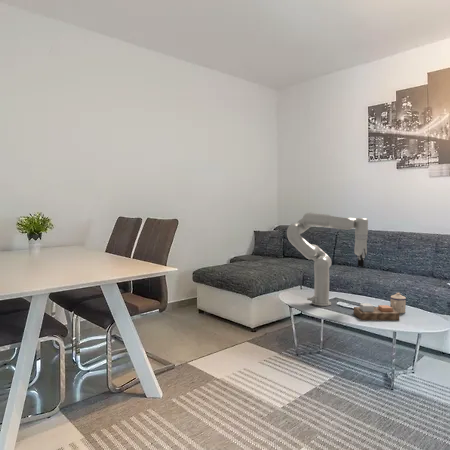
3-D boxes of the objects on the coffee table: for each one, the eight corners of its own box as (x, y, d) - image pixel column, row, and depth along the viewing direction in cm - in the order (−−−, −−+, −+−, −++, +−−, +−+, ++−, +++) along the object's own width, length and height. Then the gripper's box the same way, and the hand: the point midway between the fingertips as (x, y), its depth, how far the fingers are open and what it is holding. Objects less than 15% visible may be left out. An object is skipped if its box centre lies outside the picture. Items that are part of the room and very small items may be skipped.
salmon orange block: (382, 316, 225) (382, 308, 225) (378, 313, 231) (378, 305, 231) (392, 316, 225) (392, 308, 225) (388, 313, 231) (388, 305, 231)
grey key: (363, 314, 225) (363, 306, 225) (359, 311, 231) (360, 303, 231) (373, 314, 225) (373, 306, 225) (369, 311, 231) (370, 303, 231)
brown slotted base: (361, 320, 222) (361, 313, 222) (353, 313, 235) (353, 307, 235) (399, 320, 222) (399, 313, 222) (389, 313, 235) (389, 307, 235)
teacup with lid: (392, 308, 246) (392, 290, 245) (407, 311, 240) (408, 292, 239) (386, 312, 237) (386, 294, 236) (402, 315, 231) (402, 296, 230)
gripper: (351, 236, 252) (350, 264, 253) (359, 238, 237) (358, 268, 238) (363, 236, 252) (362, 264, 253) (371, 238, 237) (370, 268, 238)
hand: (360, 266), depth 246 cm, fingers closed
